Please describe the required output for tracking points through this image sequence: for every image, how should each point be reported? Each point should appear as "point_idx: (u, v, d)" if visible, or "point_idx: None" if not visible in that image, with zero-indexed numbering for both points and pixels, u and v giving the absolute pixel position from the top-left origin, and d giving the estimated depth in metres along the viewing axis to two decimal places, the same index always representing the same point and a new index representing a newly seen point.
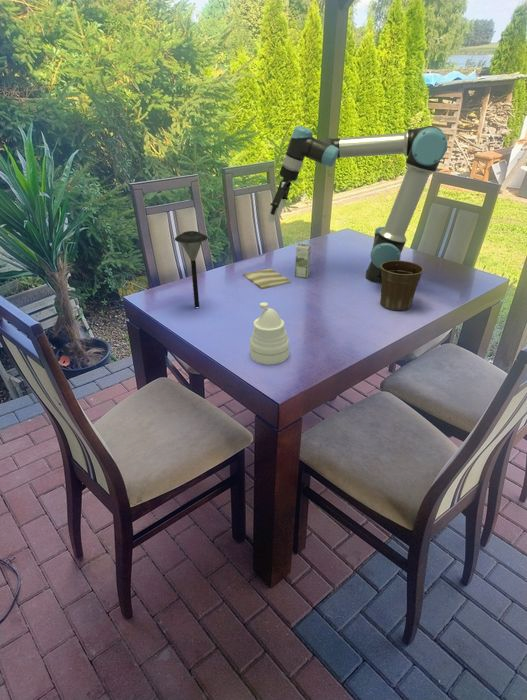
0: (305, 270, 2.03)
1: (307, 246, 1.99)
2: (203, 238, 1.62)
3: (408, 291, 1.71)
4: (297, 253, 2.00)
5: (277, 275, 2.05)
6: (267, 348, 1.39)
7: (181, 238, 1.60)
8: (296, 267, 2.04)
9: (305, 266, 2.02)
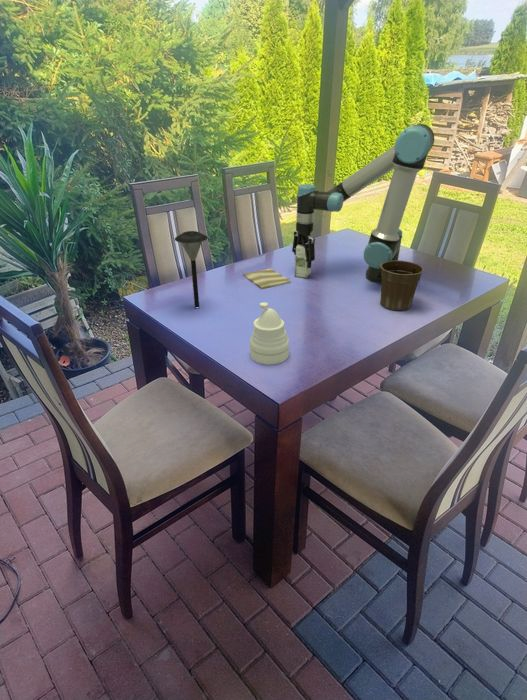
0: None
1: None
2: (203, 238, 1.62)
3: (408, 291, 1.71)
4: (297, 253, 2.00)
5: (277, 275, 2.05)
6: (267, 348, 1.39)
7: (181, 238, 1.60)
8: (296, 267, 2.04)
9: None
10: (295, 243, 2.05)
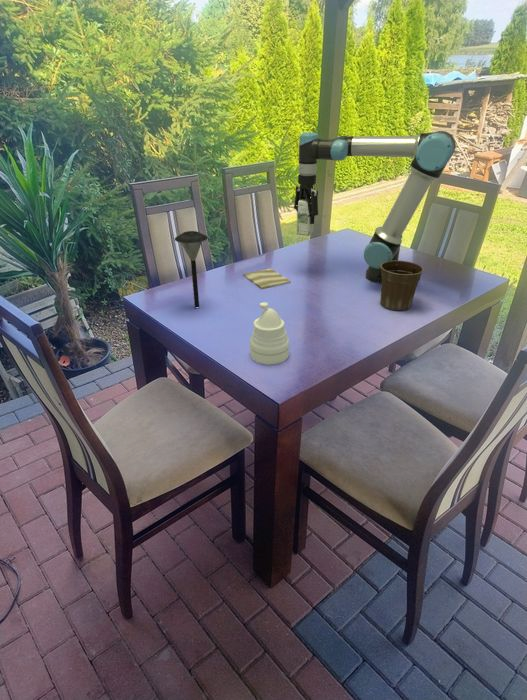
0: None
1: None
2: (203, 238, 1.62)
3: (408, 291, 1.71)
4: (299, 208, 1.90)
5: (277, 275, 2.05)
6: (267, 348, 1.39)
7: (181, 238, 1.60)
8: (298, 224, 1.94)
9: None
10: (297, 199, 1.95)
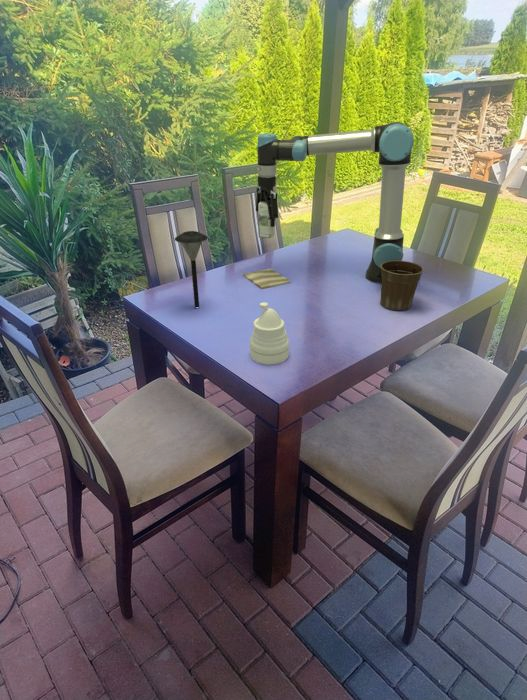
0: None
1: None
2: (203, 238, 1.62)
3: (408, 291, 1.71)
4: (260, 210, 1.86)
5: (277, 275, 2.05)
6: (267, 348, 1.39)
7: (181, 238, 1.60)
8: (259, 226, 1.90)
9: None
10: (258, 201, 1.91)
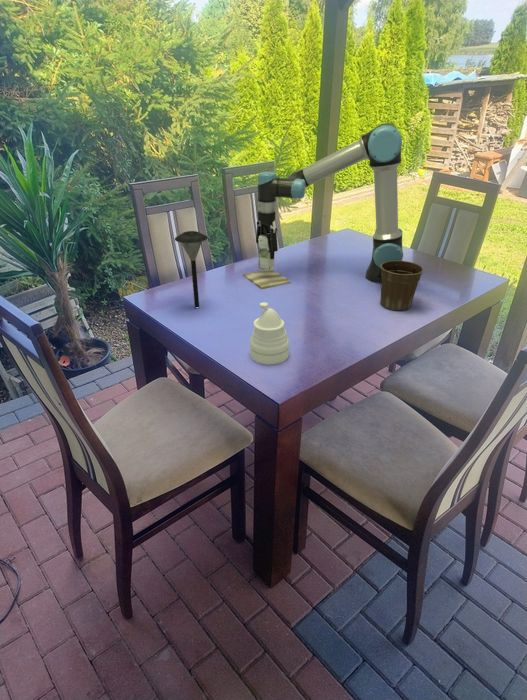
0: None
1: None
2: (203, 238, 1.62)
3: (408, 291, 1.71)
4: (260, 243, 1.93)
5: (277, 275, 2.05)
6: (267, 348, 1.39)
7: (181, 238, 1.60)
8: (259, 258, 1.97)
9: None
10: (258, 233, 1.98)
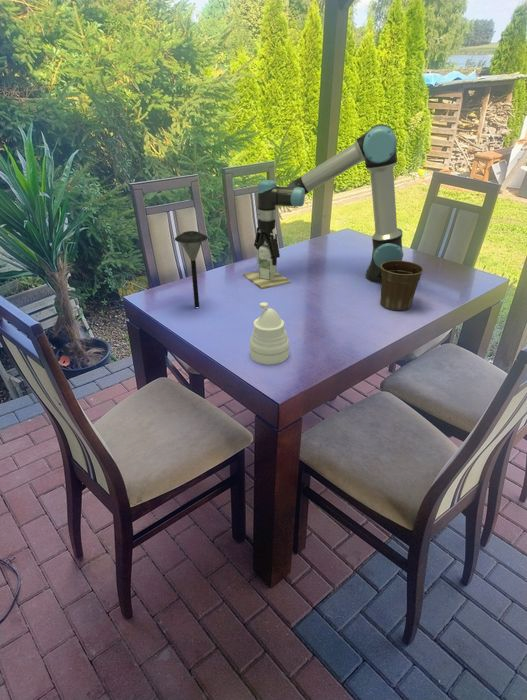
0: (269, 272, 1.98)
1: None
2: (203, 238, 1.62)
3: (408, 291, 1.71)
4: (260, 254, 1.96)
5: (277, 275, 2.05)
6: (267, 348, 1.39)
7: (181, 238, 1.60)
8: (260, 269, 1.99)
9: (268, 268, 1.97)
10: (257, 238, 2.00)
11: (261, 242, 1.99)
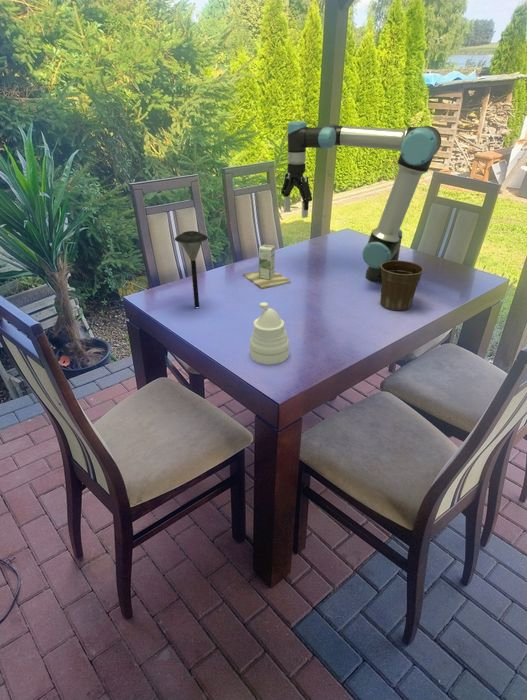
0: (269, 272, 1.98)
1: (270, 247, 1.95)
2: (203, 238, 1.62)
3: (408, 291, 1.71)
4: (260, 254, 1.96)
5: (277, 275, 2.05)
6: (267, 348, 1.39)
7: (181, 238, 1.60)
8: (260, 269, 1.99)
9: (268, 268, 1.97)
10: (285, 185, 1.96)
11: (289, 189, 1.95)
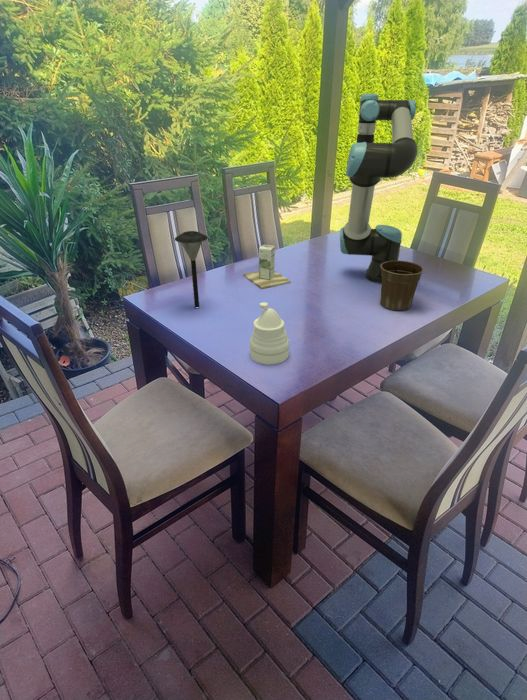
0: (269, 272, 1.98)
1: (270, 247, 1.95)
2: (203, 238, 1.62)
3: (408, 291, 1.71)
4: (260, 254, 1.96)
5: (277, 275, 2.05)
6: (267, 348, 1.39)
7: (181, 238, 1.60)
8: (260, 269, 1.99)
9: (268, 268, 1.97)
10: None
11: None
